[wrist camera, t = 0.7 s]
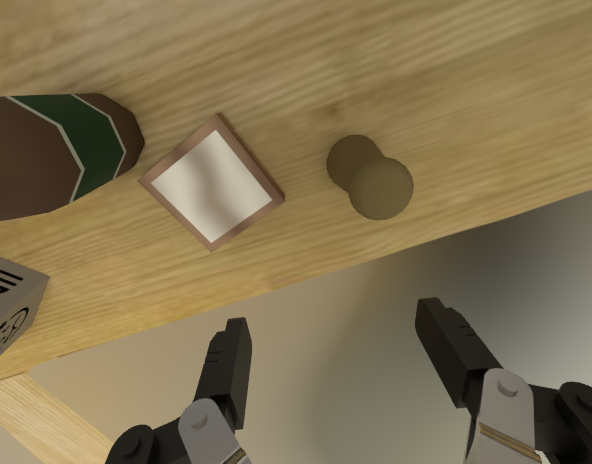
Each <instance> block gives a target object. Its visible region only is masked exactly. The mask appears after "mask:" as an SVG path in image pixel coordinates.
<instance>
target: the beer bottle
mask: <svg viewBox="0 0 592 464" xmlns="http://www.w3.org/2000/svg"><path fill="white" fill-rule="evenodd" d="M143 145H144V141H143V138H142V136H141V134H140V131H139V129H138V126H137V124H136V122H135V119H134V117H133V114H132V113H131V112H129V111H127V110H126V109H124V108H123V107H121V106H119V105H118V104H116V103H115V102H113V101H111V100H110V99H108V98H107V97H105V96H103V95H102V94H60V95H29V96H3V97H0V221H3V220H11V219H16V218H21V217H27V216H32V215H37V214H43V213H48V212H51V211H53V210H56V209H58V208H60V207H63V206H65V205H67V204H70V203H71V202H73V201H75V200H77V199H79V198H80V197H82V196H84V195H86V194H87V193H89V192H91V191H93V190H95V189H96V188H98V187H100V186H102V185H104V184H105V183H107V182H109V181H111V180H112V179H114V178H116V177H118V176H120V175H121V174H123V173H125V172H127V171H128V170H130V169H131V168H132V167H134V165H135V163H136V161H137V158H138V156H139V154H140V152H141V150H142V147H143Z"/></svg>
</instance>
